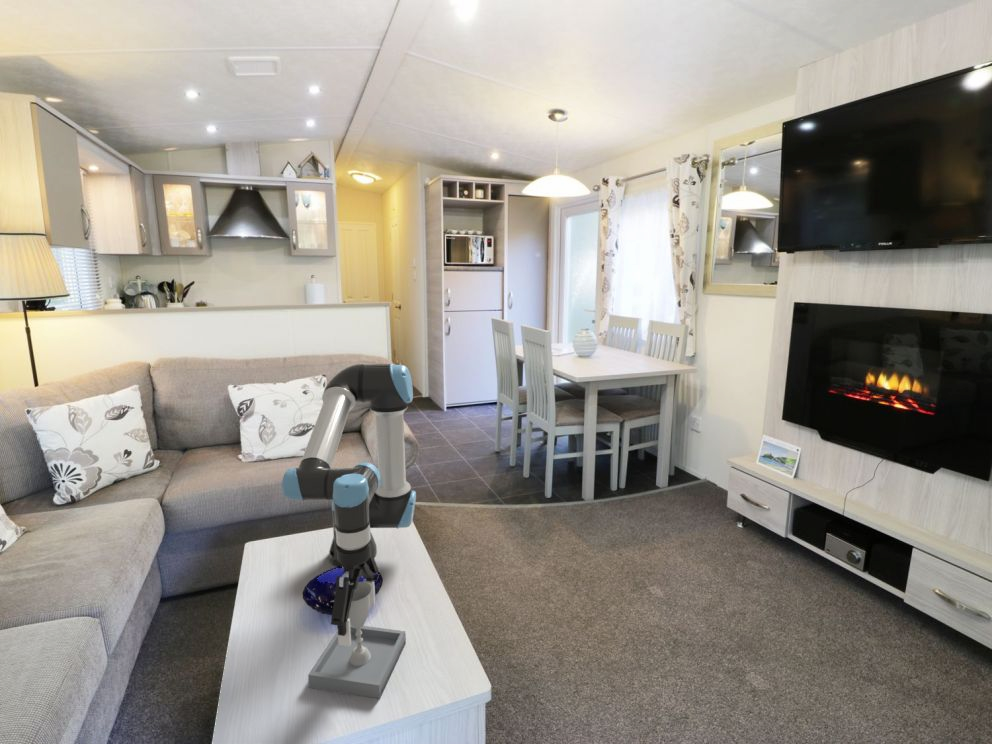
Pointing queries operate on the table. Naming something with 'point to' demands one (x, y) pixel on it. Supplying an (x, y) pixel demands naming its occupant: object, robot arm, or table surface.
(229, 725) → the table surface
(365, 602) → the chalice
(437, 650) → the table surface
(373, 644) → the tray
